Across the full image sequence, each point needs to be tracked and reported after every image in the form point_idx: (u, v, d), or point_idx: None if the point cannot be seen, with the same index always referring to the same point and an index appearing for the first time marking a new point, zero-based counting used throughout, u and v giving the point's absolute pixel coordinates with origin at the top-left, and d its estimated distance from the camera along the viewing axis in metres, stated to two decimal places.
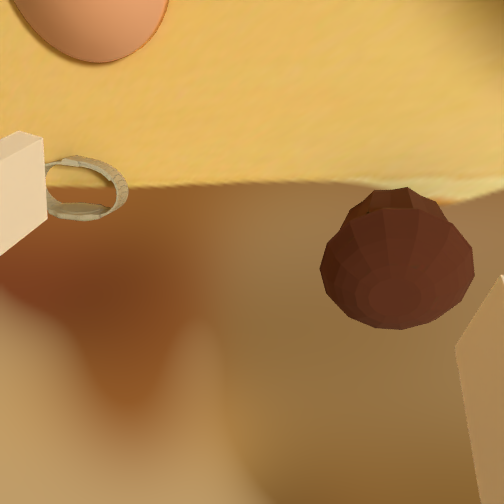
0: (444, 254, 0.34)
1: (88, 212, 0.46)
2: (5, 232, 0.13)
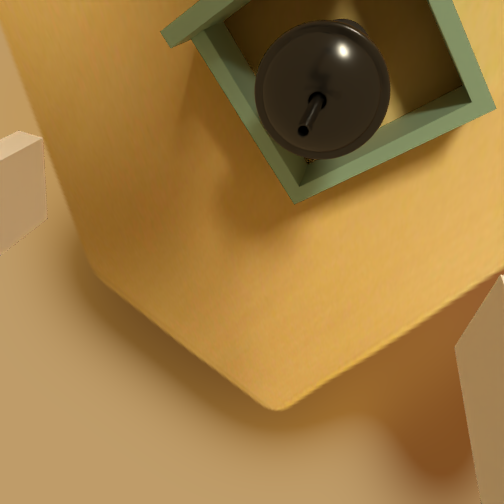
0: None
1: None
2: (5, 232, 0.13)
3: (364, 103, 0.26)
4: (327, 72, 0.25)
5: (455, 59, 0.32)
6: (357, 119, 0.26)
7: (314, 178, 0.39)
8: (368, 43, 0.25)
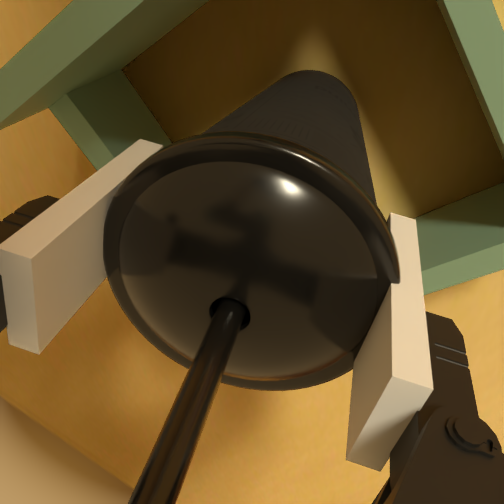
0: None
1: None
2: None
3: (341, 319, 0.11)
4: (248, 259, 0.10)
5: None
6: (326, 345, 0.11)
7: None
8: (347, 192, 0.10)
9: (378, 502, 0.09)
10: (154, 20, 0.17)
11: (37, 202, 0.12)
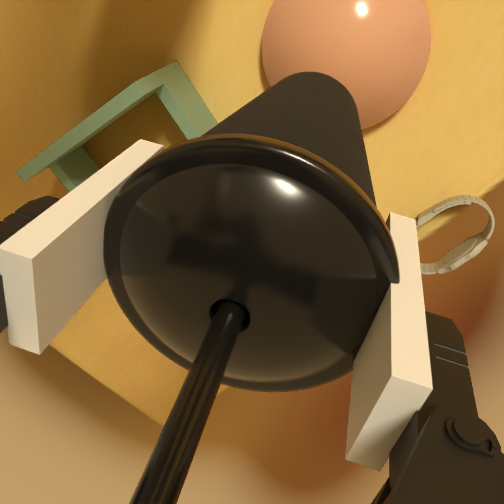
0: None
1: (473, 245, 0.44)
2: None
3: (340, 321, 0.11)
4: (248, 261, 0.10)
5: None
6: (325, 347, 0.12)
7: None
8: (347, 194, 0.10)
9: (378, 502, 0.09)
10: (88, 137, 0.46)
11: (37, 202, 0.12)
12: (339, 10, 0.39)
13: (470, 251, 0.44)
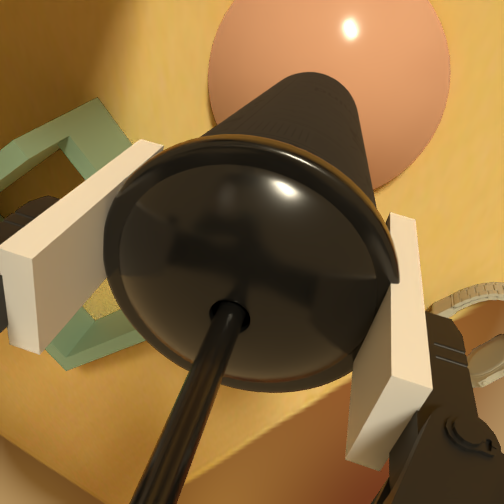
0: None
1: None
2: None
3: (340, 321, 0.11)
4: (248, 262, 0.10)
5: None
6: (325, 348, 0.12)
7: (77, 352, 0.40)
8: (347, 195, 0.10)
9: (378, 501, 0.09)
10: None
11: (37, 202, 0.12)
12: (316, 33, 0.26)
13: None
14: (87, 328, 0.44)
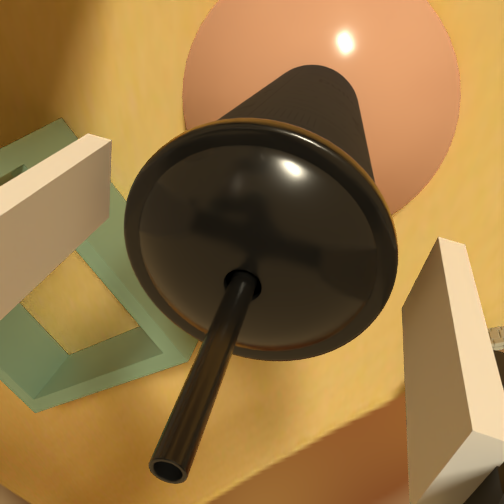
0: None
1: None
2: (77, 229, 0.14)
3: (343, 291, 0.12)
4: (261, 234, 0.11)
5: (133, 316, 0.30)
6: (329, 316, 0.13)
7: (46, 394, 0.37)
8: (351, 174, 0.11)
9: None
10: None
11: None
12: (304, 50, 0.23)
13: None
14: (60, 364, 0.40)
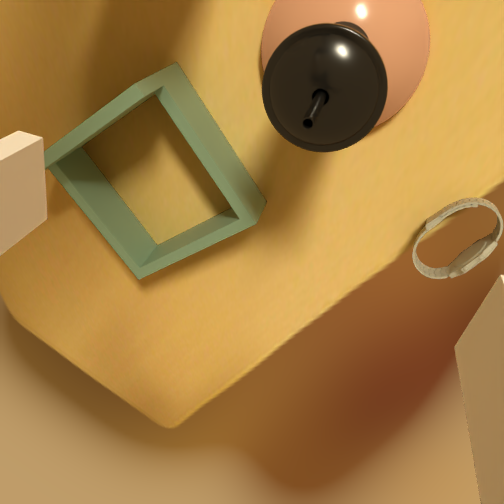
0: None
1: (483, 248, 0.44)
2: (5, 232, 0.13)
3: (364, 100, 0.28)
4: (330, 71, 0.27)
5: (222, 191, 0.45)
6: (357, 115, 0.28)
7: (149, 262, 0.52)
8: (368, 45, 0.27)
9: None
10: (88, 139, 0.46)
11: None
12: (338, 12, 0.39)
13: (480, 254, 0.43)
14: (152, 249, 0.56)
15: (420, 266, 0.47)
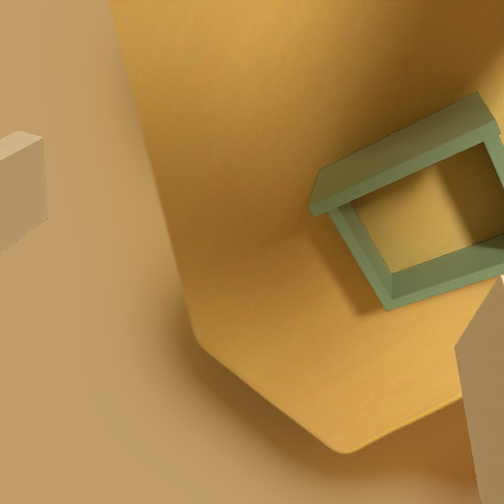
0: None
1: None
2: (5, 232, 0.13)
3: None
4: None
5: None
6: None
7: (404, 294, 0.51)
8: None
9: None
10: None
11: None
12: None
13: None
14: (391, 279, 0.54)
15: None
